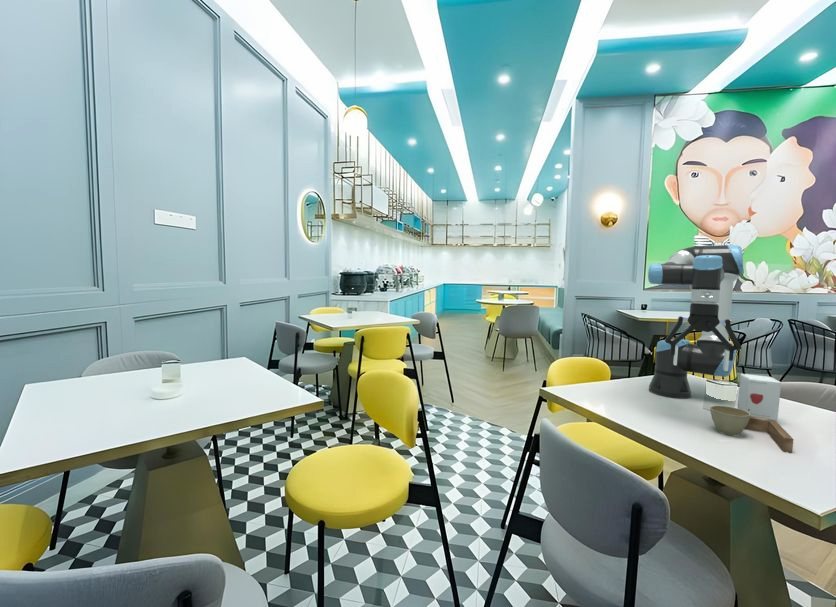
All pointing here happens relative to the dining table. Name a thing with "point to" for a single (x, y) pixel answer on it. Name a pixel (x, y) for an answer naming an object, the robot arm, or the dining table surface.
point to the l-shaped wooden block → (772, 432)
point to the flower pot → (729, 419)
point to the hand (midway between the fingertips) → (699, 367)
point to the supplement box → (759, 396)
